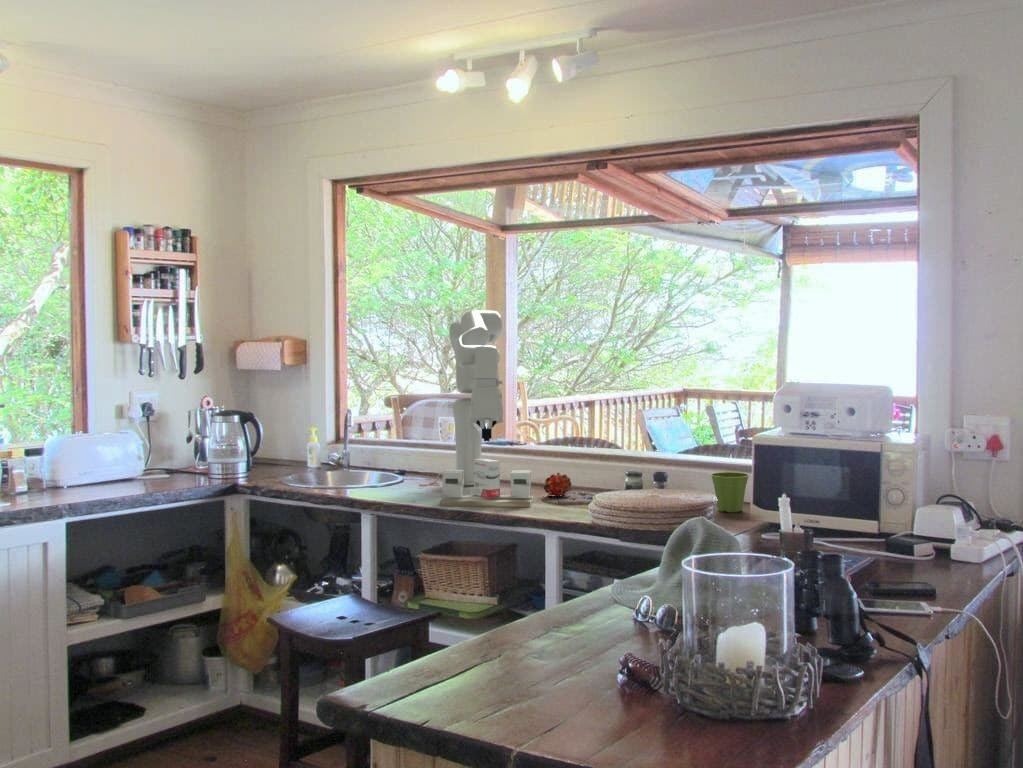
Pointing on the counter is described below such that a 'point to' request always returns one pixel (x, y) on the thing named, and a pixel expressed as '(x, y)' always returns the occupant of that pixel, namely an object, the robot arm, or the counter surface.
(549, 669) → the counter surface
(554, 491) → the dragon fruit
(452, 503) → the rail board
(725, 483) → the plant pot
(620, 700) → the counter surface
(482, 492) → the ink box
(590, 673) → the counter surface
